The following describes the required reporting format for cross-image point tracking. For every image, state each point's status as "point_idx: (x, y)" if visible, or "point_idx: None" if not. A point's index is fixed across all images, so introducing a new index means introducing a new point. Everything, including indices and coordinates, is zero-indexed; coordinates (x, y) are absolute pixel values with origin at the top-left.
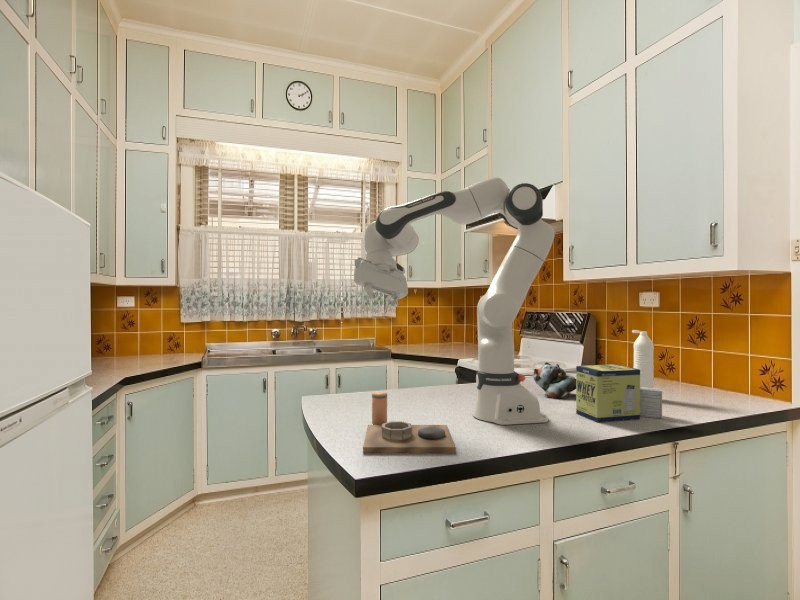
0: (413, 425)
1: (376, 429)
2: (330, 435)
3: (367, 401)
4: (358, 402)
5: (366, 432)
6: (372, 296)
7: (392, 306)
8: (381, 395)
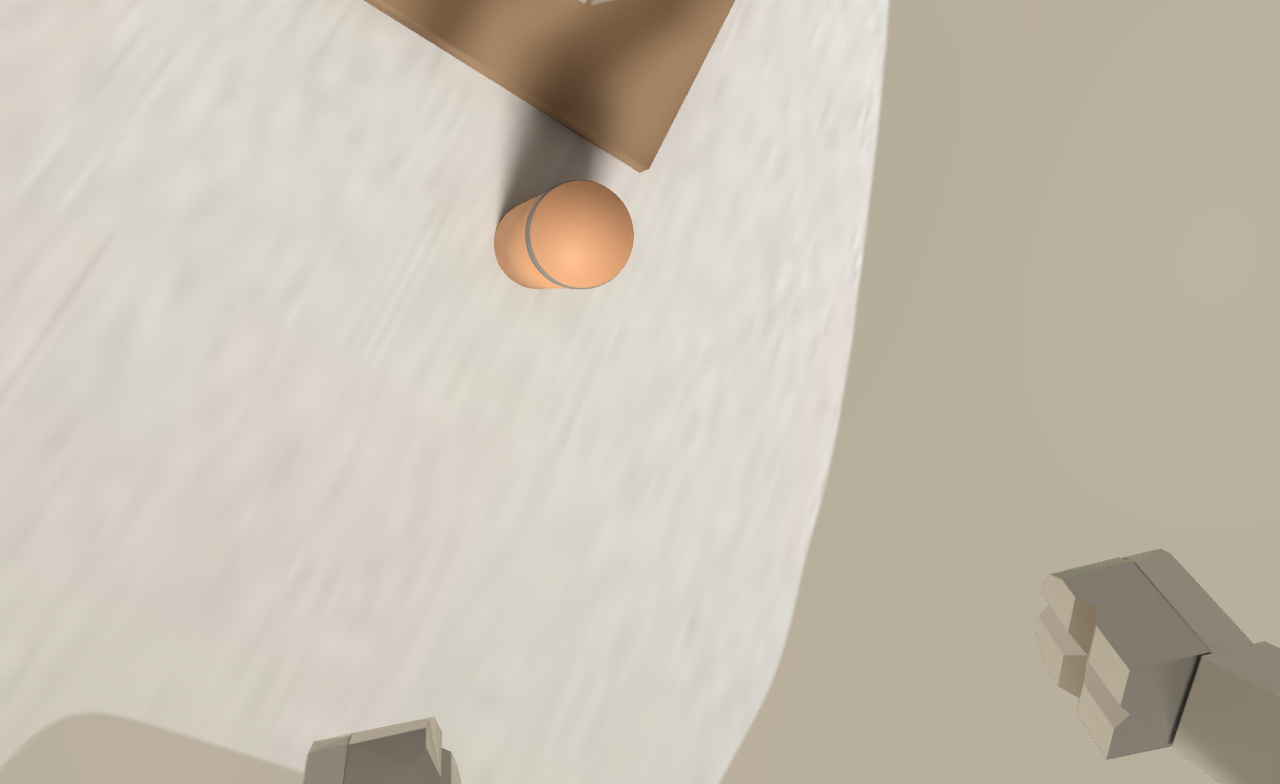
0: (426, 14)
1: (643, 68)
2: (819, 194)
3: None
4: None
5: (707, 52)
6: (1154, 555)
7: (446, 762)
8: (592, 183)
